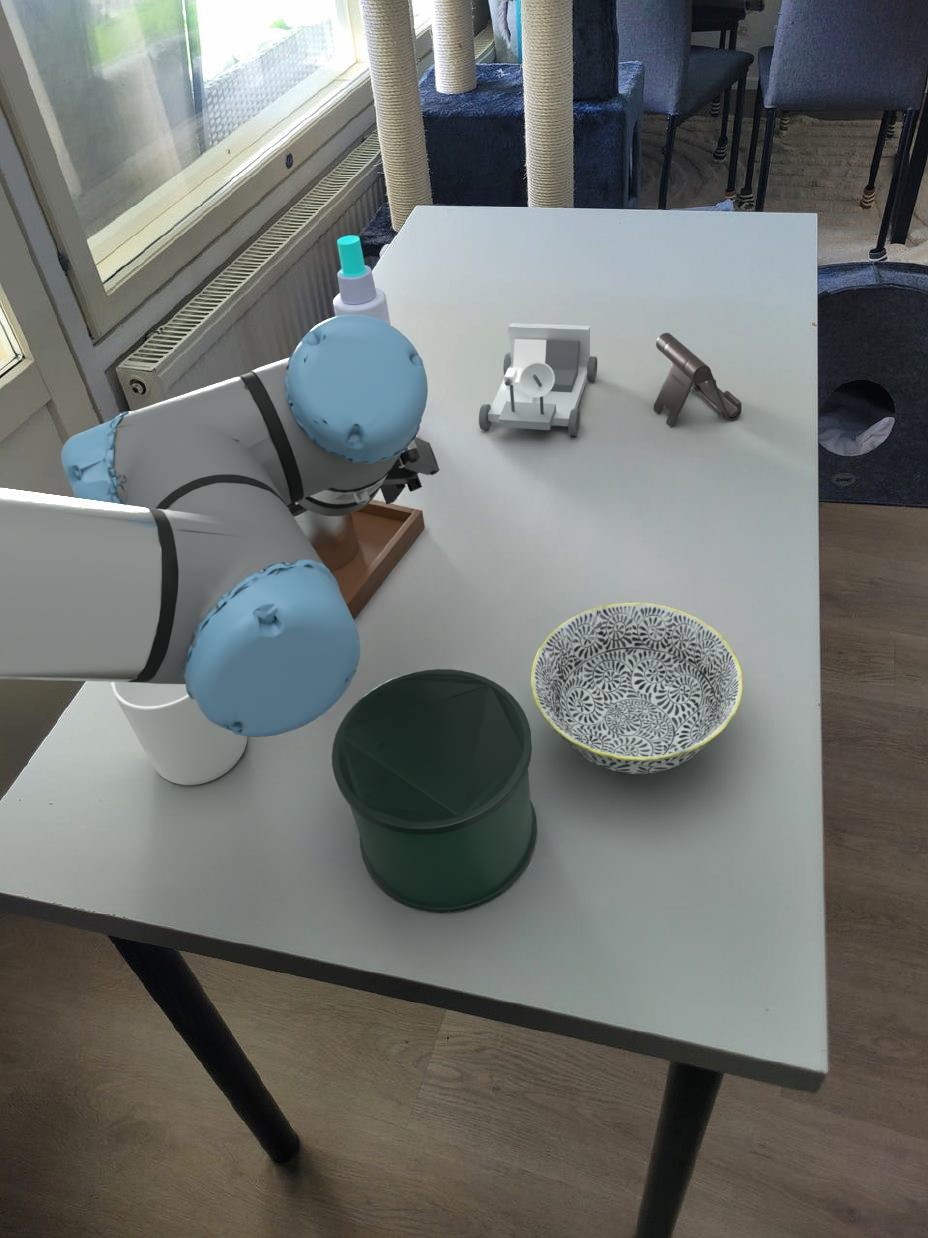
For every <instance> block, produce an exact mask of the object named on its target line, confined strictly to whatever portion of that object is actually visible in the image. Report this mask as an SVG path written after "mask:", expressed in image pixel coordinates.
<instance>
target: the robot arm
mask: <svg viewBox="0 0 928 1238" xmlns="http://www.w3.org/2000/svg"><path fill="white" fill-rule="evenodd" d="M249 371H250V370H249ZM428 387H429V386H428V377H427V373H426V369H425V366H424V361H423V359H422V357H421V356H420V354H419V353H418V350H417V349H416V347H415V345H414V344H413V342H411V341H410V340H409V339H408V338H407V337H406V335H404V334H403V333H402V332H401V330H399V329H398V328H396V327H394V325H391V323H390V324H388V323H386V322H384V321H381V320H379V319H377V318H374V317H369V316H364V315H342V316H337V317H336V316H333V317H331V318H328V319H326V320H323V321H322V322H320V323H318V324H316V325H315V326H314V327H312V328H311V329H310V330H309V331H308V332H307V333H306V334H305V335H304V336H303V338H302V339H301V340H300V342H298V344H297V346H296V348H295V350H294V351H293V352H292V353H291V354H290V355H289V357H288V358H287V357H286V358H284V359H281V360H279V361H275V362H271V363H269V364H266V365H264V366H261V367H258V368H256V369H253V370H251V371H250V372H248V373H245V374H242V375H239V376H236V377H232V378H230V379H226V380H223V381H220V382H217V383H215V384H211V385H208V386H206V387H202V388H199V389H196V390H193V391H190V392H187V393H184V394H181V395H178V396H175V397H172V398H168V399H166V400H163V401H160V402H157V403H154V404H151V405H148V406H145V407H141V408H138V409H136V410H133V411H128V410H127V411H123V412H120V413H119V414H118V415H116V416H115V417H114V418H113V419H111V420H108V421H106V422H103V423H101V424H98V425H96V426H94V427H91V428H89V429H86V430H84V431H82V432H79V433H76V434H75V435H73V436H71V437H69V438H68V439H67V441H65V443H64V444H63V447H62V449H61V453H60V458H61V459H60V460H61V465H62V468H63V471H64V474H65V476H66V479H67V481H68V483H69V485H70V487H71V491H72V495H73V496H74V497H70V496H62V495H55V494H47V493H41V492H34V491H25V490H19V489H11V488H5V487H0V680H22V681H23V680H24V681H25V680H27V681H69V682H102V683H103V682H104V683H105V682H107V683H111V682H136V683H153V684H186V691H187V693H188V695H189V697H190V698H191V699H194V700H196V702H197V704H198V706H199V708H200V710H201V711H202V713H203V714H204V715H205V716H206V717H207V718H208V719H209V721H211V722H213V723H214V724H217V725H218V726H220V727H222V728H225V729H227V730H230V731H233V732H234V733H235V734H237V735H242V736H247V738H249V737H251V738H261V737H262V738H264V737H273V736H279V735H282V734H285V733H289V732H292V731H295V730H298V729H300V728H303V727H305V726H307V725H309V724H310V723H311V722H313V721H315V720H317V719H319V718H320V717H321V716H323V715H324V714H325V713H327V711H329V710H330V709H331V708H332V707H333V706H334V705H335V704H336V703H337V702H339V700H340V699H341V697H342V696H343V695H344V694H345V693H346V691H347V689H348V688H349V686H350V684H351V682H352V679H353V678H354V677H355V675H356V674H355V673H356V672H357V668H358V665H359V662H360V657H361V640H360V634H359V631H358V627H357V626H358V625H357V624H356V622H355V619H354V620H353V617H352V615H351V613H350V611H349V609H348V607H347V605H346V603H345V600H344V598H343V596H342V594H341V592H340V588H339V586H338V583H337V581H336V578H335V577H334V576H333V574H332V573H331V572H330V570H329V569H328V568H327V567H326V566H325V565H324V564H323V562H322V561H321V559H320V557H319V556H318V554H317V553H316V551H315V550H314V548H313V546H312V545H311V543H310V542H309V540H308V539H307V537H306V536H305V534H304V532H303V531H302V529H301V528H300V526H299V525H298V523H297V522H296V520H295V518H294V516H298V515H300V514H302V513H304V512H305V511H307V510H309V511H311V512H314V513H316V514H320V515H324V516H343V515H348V514H351V513H354V512H356V511H358V510H360V509H362V508H363V507H365V506H366V505H367V504H368V503H369V502H370V501H371V500H372V499H373V500H374V498H376V496H377V494H378V493H379V491H380V492H381V493H382V497H383V500H384V502H386V505H387V504H390V503H391V504H394V503H395V501H396V500H397V499H398V497H400V495H401V493H402V492H403V491H404V489H405V488H406V486H407V488H408V491H409V493H410V492H414V491H417V490H420V489H422V488H423V485H422V482H421V480H420V477H419V474H422V475H425V476H433V475H436V474H437V473H438V472H439V471H441V469H440V467H439V464H438V461H437V459H436V455H435V453H434V450H433V447H432V446H431V444H430V442H428V441H426V440H424V439H422V438H419V437H418V436H417V435H418V433H419V431H420V427H421V426H420V424H421V423H422V420H423V416H424V413H425V410H426V407H427V402H428V401H427V400H428V392H429V389H428ZM295 503H298V504H297V505H296V504H295Z"/></svg>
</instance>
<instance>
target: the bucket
mask: <svg viewBox="0 0 928 1238" xmlns="http://www.w3.org/2000/svg"><path fill="white" fill-rule="evenodd" d="M532 741H533V740H532V730H531V726H530V722H529V720H528V717H527V715H526V713H525V710H524V709H523V707H522V706H521V704H520V703H519V702H518V700H517V699H516V698H515V696H513V695H512V694H511V693H510V692H509V690H507V689H505V688H504V687H503V686H501V685H500V684H499V683H497V682H495V681H493V680H491V679H489V678H487V677H485V676H482V675H479V674H476V673H474V672H469V671H465V670H461V669H460V670H459V669H452V668H434V669H423V670H418V671H413V672H410V673H405V674H402V675H399V676H397V677H394V678H391V679H389V680H387V681H386V682H383V683H381V684H379V685H378V686H376V687H375V688H373V689H371V690H369V691H368V693H365V695H364V696H362V697H361V698H360V699H359V700H358V701H357V702H356V703H355V704H354V705H353V706H352V707H351V708H350V710H349V711H348V712H347V713H346V714H345V716H344V717H343V719H342V721H341V722H340V724H339V726H338V728H337V731H336V733H335V736H334V739H333V743H332V748H331V749H332V750H331V768H332V772H333V776H334V780H335V782H336V785H337V787H338V790H339V792H340V794H341V795H342V797H343V798H344V800H345V802H347V804H348V805H349V807H350V809H351V813H352V816H353V819H354V822H355V825H356V828H357V832H358V834H359V844H360V845H359V847H360V852H361V856H362V860H363V863H364V865H365V868H366V871H367V873H368V874H369V876H370V877H371V879H372V881H373V882H374V883H375V884H376V886H377V888H379V889H380V890H381V891H382V892H383V893H385V894H386V896H388V897H390V898H391V899H393V900H394V901H396V902H397V903H399V904H402V905H403V906H405V907H407V908H411V909H413V910H417V911H421V912H427V913H435V914H436V913H438V914H447V913H449V914H450V913H458V912H464V911H468V910H472V909H474V908H479V907H481V906H483V905H485V904H488V903H489V902H491V901H493V900H494V899H496V898H498V897H500V896H501V895H503V894H504V893H505V892H506V891H507V890H509V889H510V888H511V887H512V886H513V885H514V884H515V883H516V882H517V881H518V880H519V879H520V878H521V876H522V875H523V873H524V872H525V871H526V869H527V867H528V865H529V864H530V862H531V861H532V860H531V859H532V857H533V856H534V852H535V848H536V844H537V837H538V824H537V823H538V822H537V815H536V810H535V807H534V805H533V802H532V798H531V787H530V786H531V785H530V775H529V768H530V764H531V760H532V754H533V753H532V751H533V742H532Z"/></svg>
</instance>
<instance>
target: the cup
mask: <svg viewBox="0 0 928 1238" xmlns="http://www.w3.org/2000/svg"><path fill="white" fill-rule="evenodd" d="M110 686H111V687H110V688H111V691H112V694H113V695H114V698H115V699H116V701H117V703H118V705H119V706H120V708H121V710H122V713H123V714H124V715H125V718H126V720H127V721H128V723H129V725H130V727H131V728H132V731H133V732H134V734H135V736H136V738H137V739H138V741H139V743H140V745H141V747H142V749H143V751H144V753H145V754H146V756H147V758H148V760H149V762H150V763H151V765H152V766H153V768H154V770H155V771H156V772H157V773H158V774H159V775H160V776H161V777H162V778H163V779H165V780H167V781H169V782H171V783H174V784H177V785H182V786H197V785H202V784H205V783H209V782H212V781H214V780H216V779H218V778H220V777H222V776H223V775H225V774H226V773H228V772H229V771H230V770H232V768H233V767H235V765H237V763H238V762H239V760H240V759H241V757H242V756H243V755H244V753H245V750H246V747H247V742H248V736H242V735H237V734H235V733H234V732H233V731H230V730H227V729H225V728H222V727H220V726H218V725H217V724H214V723H213V722H211V721H209V719H208V718H207V717H206V716H205V715H204V714H203V713H202V711H201V710H200V708H199V706H198V704H197V702H196V700H194V699H191V698H190V697H189V695H188V693H187V691H186V684H153V683H136V682H110Z"/></svg>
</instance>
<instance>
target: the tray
mask: <svg viewBox="0 0 928 1238" xmlns="http://www.w3.org/2000/svg"><path fill="white" fill-rule="evenodd" d="M351 514H352V518H353V523H354V527H355V531H356V536H357V540H358V551H357V553H356V555H355V556H354V558H353V559H352V560H351V561H350V562H349V563H347V564H346V565H345V566H343V567H341V568H339V569H337V570H334V571H330V572H331V573H332V574H333V576H334V577H335V578H336V581H337V583H338V586H339V588H340V592H341V594H342V596H343V598H344V600H345V603H346V605H347V607H348V609H349V611H350V613H351V615H352V617H353V620H354V621H355V619H356V617H357V616H358V615H359V613H360V612H361V611H362V610H363V609H364V607H365V605H366V604H367V603H368V601H370V599H371V598H372V597H373V595H374V594H375V593H376V591H377V590H378V589H379V588H380V586H382V584H383V582H384V581H385V580H386V578H388V576H389V575H390V573H391V572H392V571H393V569H394V568H395V567H396V566H397V564H398V563H399V562H400V560H401V559H402V558H403V556H405V554H406V553H407V552H408V550H409V549H410V547H411V546H412V545H413V543H414V542H415V541H416V540H417V538H418V537H419V536H420V534H421V533H422V532H423V531H424V529H425V528H426V525H425V518H424V513H423V510H422V509H418V508H413V507H410V506H409V507H408V506H403V505H400V504H395V503H390V504H387V505H386V502H385V501H381V500H376V499H374V498H373V499H372V500H371V501H370V502H369V503H368V504H367V505H366V506H365V507H363V508H362V509H360V510H358V511H356V512H354V513H351Z"/></svg>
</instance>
